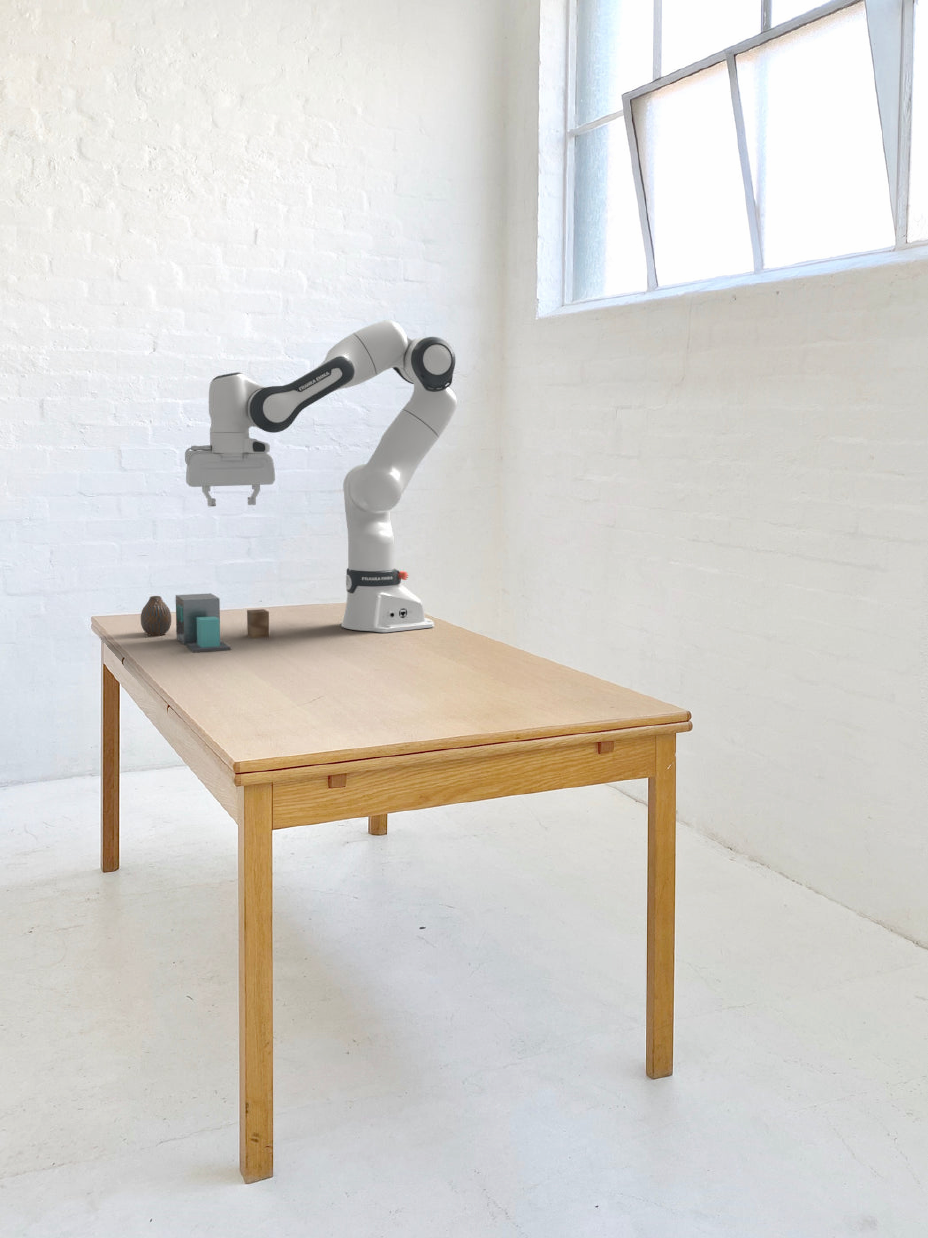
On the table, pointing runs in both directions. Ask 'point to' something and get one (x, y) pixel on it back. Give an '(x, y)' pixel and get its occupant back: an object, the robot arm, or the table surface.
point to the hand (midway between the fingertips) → (231, 505)
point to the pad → (197, 648)
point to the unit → (194, 614)
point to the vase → (156, 617)
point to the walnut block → (258, 623)
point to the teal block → (208, 632)
